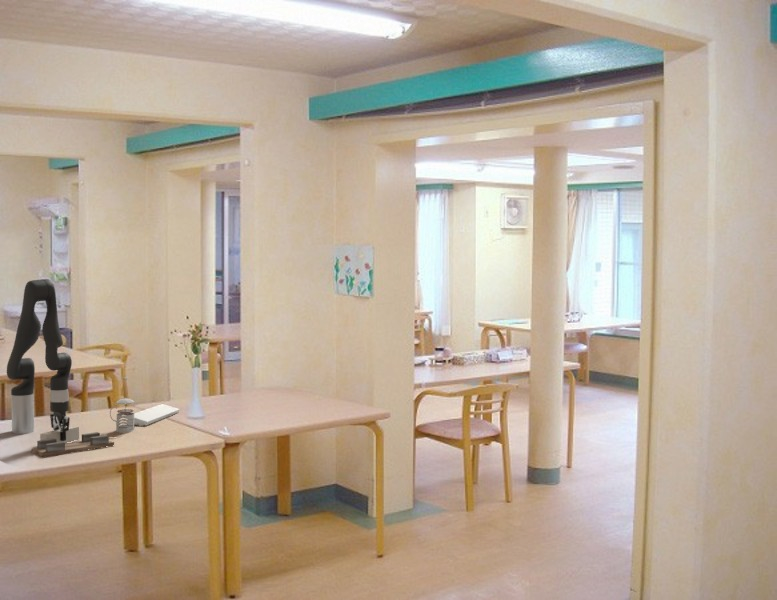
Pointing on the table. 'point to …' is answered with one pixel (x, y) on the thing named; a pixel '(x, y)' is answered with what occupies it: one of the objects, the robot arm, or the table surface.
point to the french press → (124, 412)
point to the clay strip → (70, 435)
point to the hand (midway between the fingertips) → (60, 439)
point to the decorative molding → (153, 414)
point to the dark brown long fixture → (71, 445)
